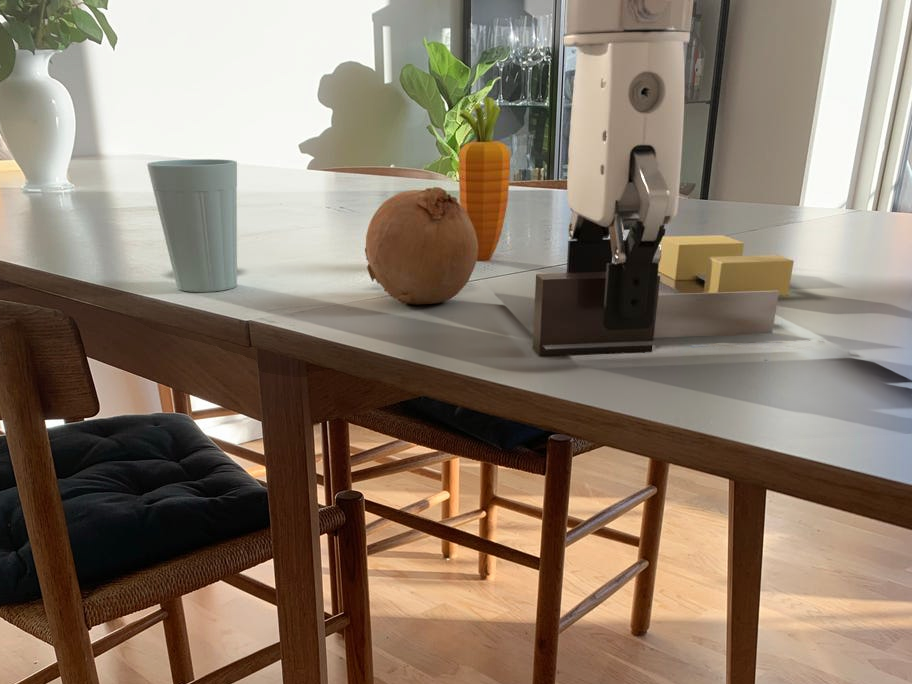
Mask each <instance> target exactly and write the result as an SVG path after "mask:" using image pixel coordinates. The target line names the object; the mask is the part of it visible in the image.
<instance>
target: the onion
mask: <svg viewBox="0 0 912 684" xmlns="http://www.w3.org/2000/svg"><path fill="white" fill-rule="evenodd" d="M364 253H365V257H366V258H365V259H366V261H367V263H368V264H367V266H366V269H367V272H368V275H369V278H370V280H371V281H372V282H374V281H376V283H377V284H380V286H381V287H382V288H383V291H384V292H386V293H387V294H388V295H389V296H390V297H392V298H393V299H394V300H395V299H396V300H398V301H397V303H398V304H400V305H403V304H406V305H414V306H415V305H417V306H418V305H433V304H439V303H440V304H441V303H444V302H446V301H449V300H451V299H453V298H454V297H456V296H457V295H458V294H459V293H460V292H461V291H462V290H463V288H464V287H466V285H467V284H468V282H469V281H470V279H471V277H472V274H473V272H474V270H475V266H476V265H477V262H478V261H477V256H478V242H477V237H476V233H475V229H474V227H473V225H472V222H471V220H470V218H469V217H468V215H467V213H466V211H465V210H464V208H463V207H462V206H461V204H460V202H458V198H457V197H455V196H452V195H451V193H447V191H446V189H443V188H441V187H439V186H437V187H436V186H433V187H429V188H425V189H424V190H421V189H412V190H406V191H402V192H399V193H397V194H395V195H393V196H390V197H389V198H387V199H386V200H385V201H384V202H383V203H381V205H379V207H378V208H377V210H376V211H375V212H374V214H373V216H372V218H371V219H370V221H369V224H368V227H367V231H366V235H365V247H364Z"/></svg>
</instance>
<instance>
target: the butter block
mask: <svg viewBox="0 0 912 684" xmlns="http://www.w3.org/2000/svg"><path fill="white" fill-rule="evenodd" d="M744 249H745V242H743V241H740V240H737V239H734V238H731V237H729V236H726V235H724V234H718V235H717V234H716V235H715V234H713V235H679V236H674V235H673V236H663V237H662V240H661V250H662V254H661V260H660V262H659V267H658V271H659V272H660V273H662V274H664V275H666V276H668V277H670V278H672V279H674V280H704V279H703V278H701V277H699V276H706V270H707V263H708V257H721V256H744Z"/></svg>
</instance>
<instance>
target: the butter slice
mask: <svg viewBox="0 0 912 684" xmlns="http://www.w3.org/2000/svg"><path fill="white" fill-rule="evenodd" d="M794 262H795V261H794V260H793V259H790V258H787V257H784V256H781V255H780V254H764V255H763V254H762V255H761V254H760V255H743V256H721V257H708V263H707V270H706V275H705V277H704V278H705V279H704V280H705V285H704V293H715V292H746V291H779V295H778V296H788V295H789V291H790V285H791V279H792V274H793V268H794Z"/></svg>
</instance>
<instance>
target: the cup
mask: <svg viewBox="0 0 912 684" xmlns="http://www.w3.org/2000/svg"><path fill="white" fill-rule="evenodd" d="M146 166H147V170H148V174H149V179H150V183H151V185H152V186H151V187H152V190H153V195H154V198H155V199H154V200H155V203H156V208H157V211H158V215H159V219H160V223H161V227H162V231H163V235H164V239H165V244H166V247H167V251H168V256H169V261H170V264H171V268H172V273H173V276H174V280H175V284H176V288H177V289H178V290H180V291H183V292H191V293H213V292H214V293H215V292H222V291H227V290H231V289H234V288H236V287H237V285H238V224H237V223H238V200H237V199H238V198H237V197H238V195H237V194H238V190H237V189H238V162H237V161H236V160H233V159H216V158H215V159H214V158H213V159H212V158H211V159H210V158H209V159H208V158H200V159H199V158H197V159H196V158H195V159H194V158H193V159H192V158H191V159H172V160H171V159H169V160H159V161H151V162H148V163H146Z"/></svg>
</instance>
